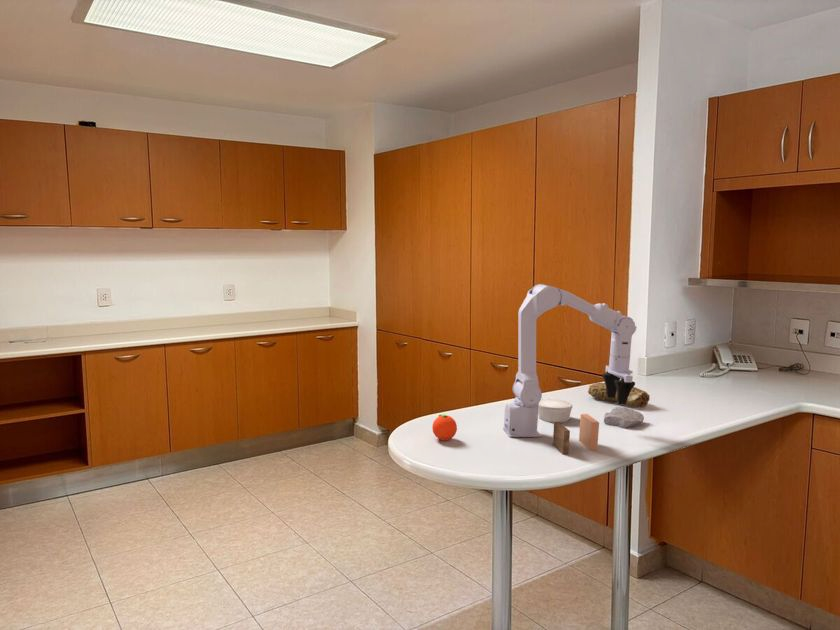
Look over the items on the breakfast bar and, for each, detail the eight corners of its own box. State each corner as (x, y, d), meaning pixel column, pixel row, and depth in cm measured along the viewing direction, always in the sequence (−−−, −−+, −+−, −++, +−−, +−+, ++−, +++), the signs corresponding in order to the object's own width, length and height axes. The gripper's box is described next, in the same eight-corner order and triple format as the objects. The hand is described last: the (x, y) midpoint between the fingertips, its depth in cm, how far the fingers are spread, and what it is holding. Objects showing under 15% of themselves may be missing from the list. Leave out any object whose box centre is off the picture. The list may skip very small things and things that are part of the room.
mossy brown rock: (651, 409, 216) (607, 386, 232) (653, 390, 213) (609, 367, 229) (624, 420, 210) (582, 395, 226) (627, 401, 207) (584, 377, 223)
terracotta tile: (589, 450, 166) (591, 422, 165) (578, 441, 174) (580, 413, 173) (597, 450, 167) (599, 422, 166) (586, 441, 174) (588, 413, 173)
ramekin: (529, 418, 195) (530, 402, 194) (546, 412, 204) (547, 396, 203) (561, 426, 188) (562, 409, 187) (577, 419, 197) (578, 403, 196)
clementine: (426, 435, 174) (427, 411, 173) (447, 433, 176) (449, 409, 176) (438, 444, 166) (439, 419, 166) (460, 442, 169) (461, 417, 168)
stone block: (644, 428, 196) (615, 415, 202) (648, 414, 195) (618, 402, 200) (630, 437, 187) (600, 424, 193) (634, 423, 186) (604, 410, 191)
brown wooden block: (562, 454, 162) (564, 431, 161) (552, 444, 170) (554, 422, 169) (568, 454, 162) (569, 431, 162) (558, 444, 170) (559, 422, 170)
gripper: (644, 360, 173) (640, 407, 174) (622, 351, 187) (619, 394, 189) (620, 360, 172) (616, 407, 174) (600, 351, 187) (597, 394, 188)
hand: (616, 400), depth 181 cm, fingers open, 7 cm apart
